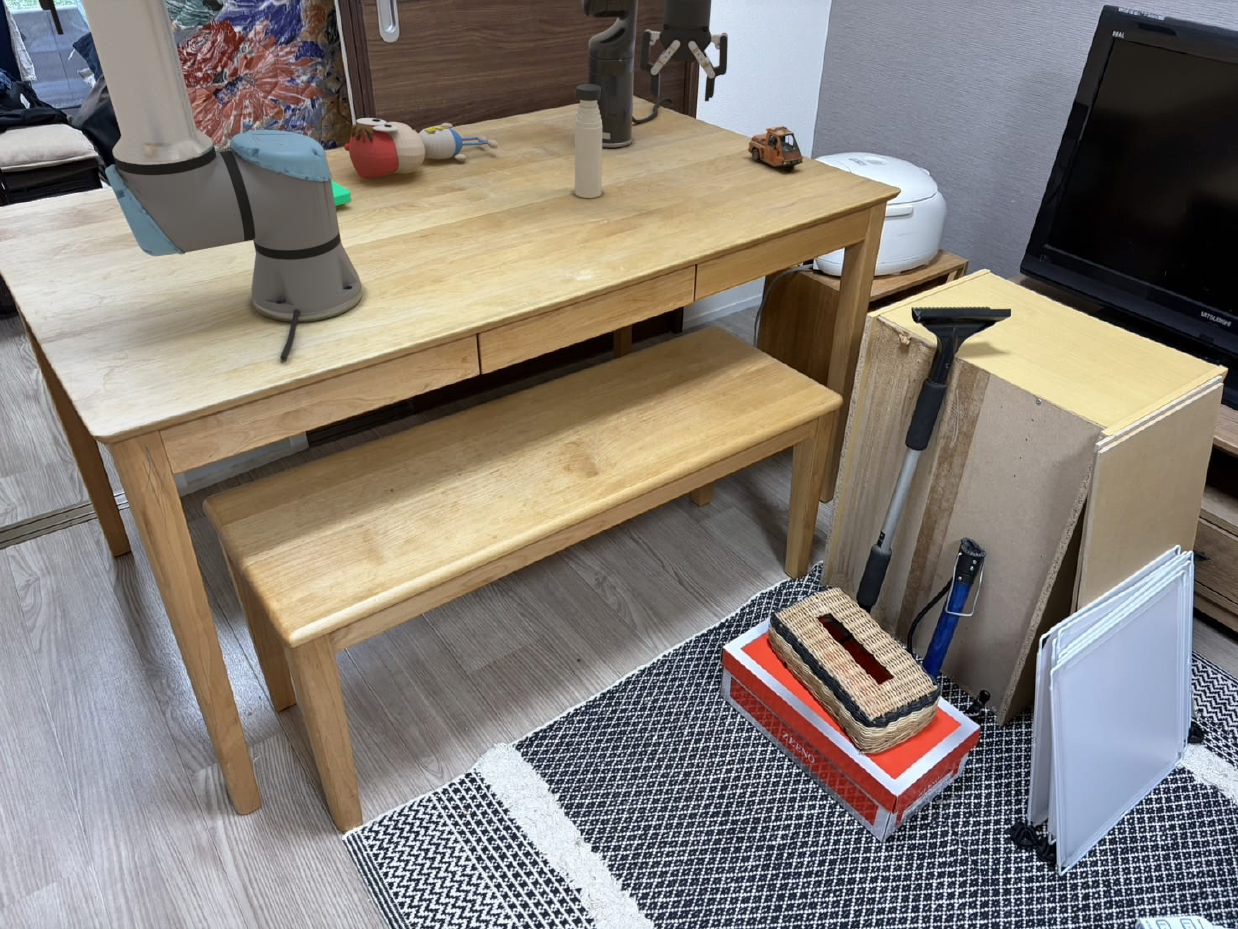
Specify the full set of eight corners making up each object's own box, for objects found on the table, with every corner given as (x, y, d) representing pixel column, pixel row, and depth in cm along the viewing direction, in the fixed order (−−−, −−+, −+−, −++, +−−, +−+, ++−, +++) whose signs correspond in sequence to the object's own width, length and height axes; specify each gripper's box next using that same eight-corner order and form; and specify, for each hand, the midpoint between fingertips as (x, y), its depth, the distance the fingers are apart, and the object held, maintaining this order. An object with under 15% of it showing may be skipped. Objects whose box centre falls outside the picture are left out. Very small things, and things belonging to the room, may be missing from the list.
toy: (513, 124, 177) (360, 128, 162) (513, 178, 182) (363, 187, 167) (473, 109, 190) (327, 111, 175) (473, 159, 195) (331, 166, 180)
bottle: (582, 199, 168) (583, 94, 157) (570, 191, 172) (569, 87, 161) (606, 195, 170) (607, 91, 159) (593, 186, 174) (594, 84, 163)
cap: (583, 102, 158) (583, 91, 157) (571, 95, 161) (571, 85, 160) (605, 99, 160) (605, 88, 159) (593, 92, 163) (593, 82, 162)
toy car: (763, 152, 192) (768, 117, 188) (807, 168, 184) (812, 133, 180) (742, 157, 188) (745, 123, 184) (785, 174, 181) (790, 139, 177)
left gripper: (151, -134, 141) (187, 17, 154) (-38, -132, 131) (17, 30, 144) (159, -130, 136) (195, 26, 149) (-37, -127, 126) (20, 41, 138)
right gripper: (734, -10, 149) (724, 95, 158) (646, -15, 150) (642, 90, 160) (732, -1, 143) (722, 107, 153) (640, -6, 144) (637, 102, 154)
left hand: (108, 29), depth 146 cm, fingers open, 13 cm apart
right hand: (681, 98), depth 156 cm, fingers open, 8 cm apart
